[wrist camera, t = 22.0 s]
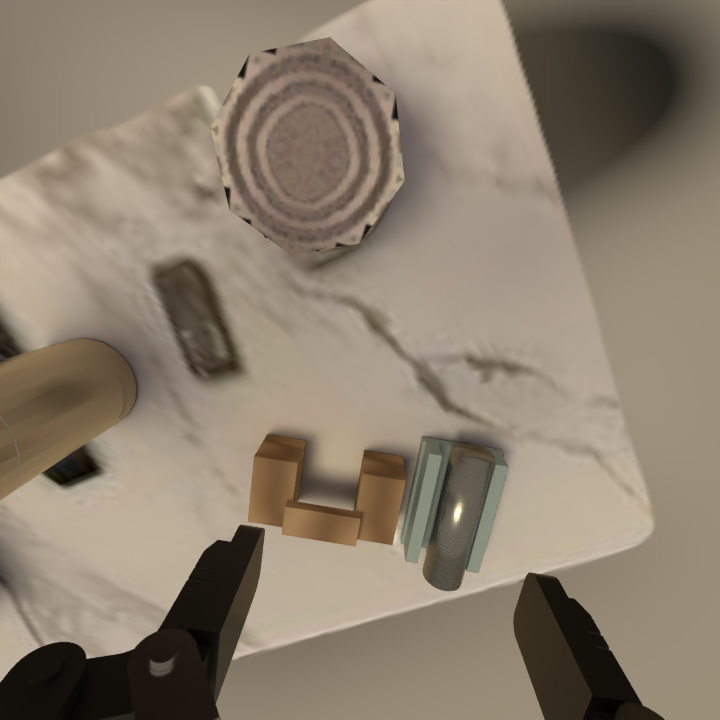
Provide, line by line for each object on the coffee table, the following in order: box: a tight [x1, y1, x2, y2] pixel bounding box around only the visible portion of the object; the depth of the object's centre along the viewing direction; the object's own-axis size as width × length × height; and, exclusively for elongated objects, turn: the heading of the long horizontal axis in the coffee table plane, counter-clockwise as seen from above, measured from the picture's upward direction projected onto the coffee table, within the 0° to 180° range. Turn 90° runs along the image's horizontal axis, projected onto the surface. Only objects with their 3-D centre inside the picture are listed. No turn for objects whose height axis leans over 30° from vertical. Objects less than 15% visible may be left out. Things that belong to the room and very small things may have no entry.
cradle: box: [401, 437, 508, 573], centre depth 42 cm, size 8×12×4 cm, turn 171°
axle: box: [423, 442, 495, 591], centre depth 41 cm, size 14×4×4 cm, turn 171°
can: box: [210, 37, 405, 254], centre depth 30 cm, size 11×11×12 cm
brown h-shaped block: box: [248, 434, 406, 546], centre depth 41 cm, size 14×7×6 cm, turn 81°
